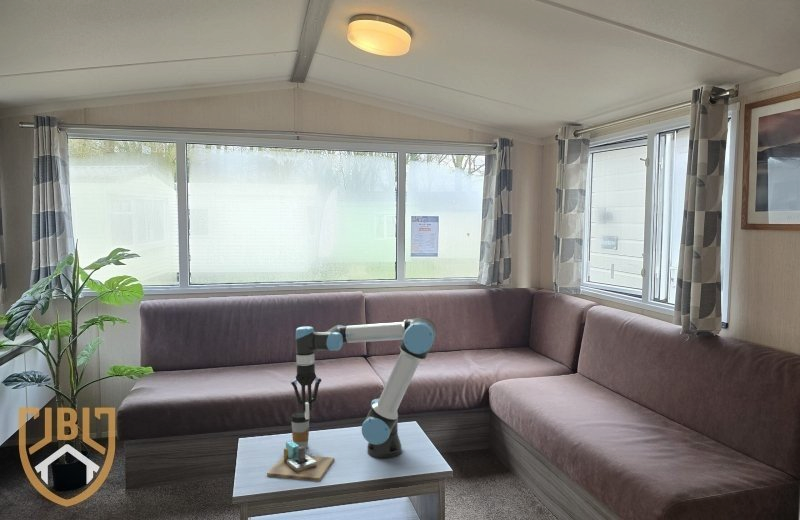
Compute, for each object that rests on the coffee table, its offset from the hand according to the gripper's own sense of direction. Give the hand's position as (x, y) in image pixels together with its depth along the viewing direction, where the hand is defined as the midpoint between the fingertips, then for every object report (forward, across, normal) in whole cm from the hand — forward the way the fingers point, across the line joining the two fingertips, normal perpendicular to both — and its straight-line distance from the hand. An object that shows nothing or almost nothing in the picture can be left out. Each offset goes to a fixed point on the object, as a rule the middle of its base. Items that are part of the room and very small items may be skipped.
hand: (307, 418), depth 215 cm
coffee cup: (+18, +1, -13) cm, 22 cm away
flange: (+16, +5, +4) cm, 17 cm away
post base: (+18, +4, +7) cm, 20 cm away
